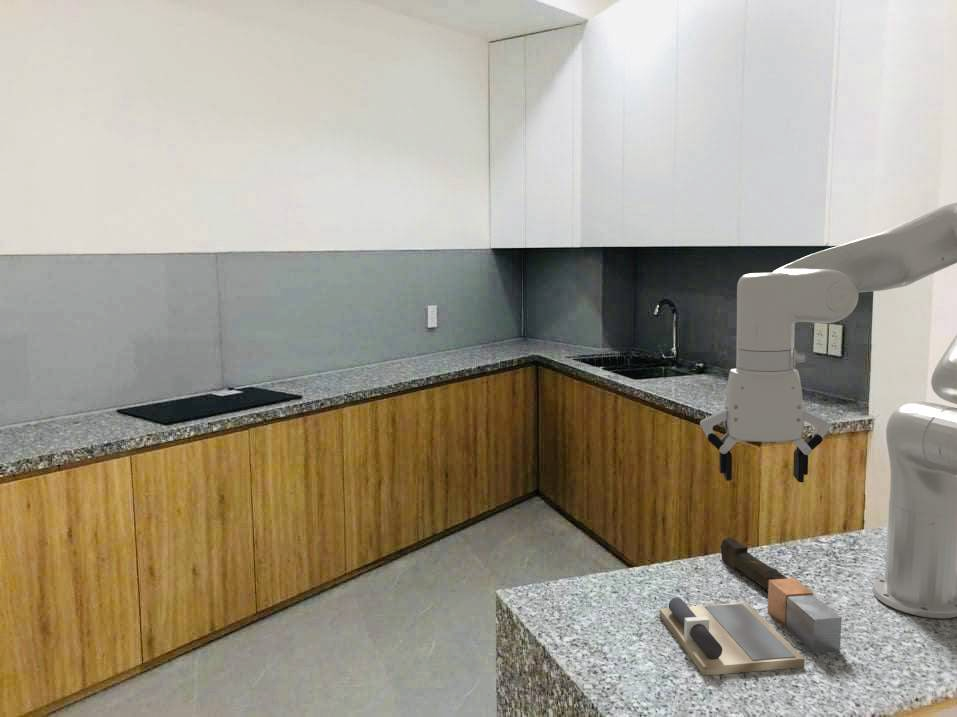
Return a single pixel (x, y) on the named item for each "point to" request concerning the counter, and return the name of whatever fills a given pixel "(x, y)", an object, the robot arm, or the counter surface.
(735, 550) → the hand tool
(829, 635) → the grey and copper block
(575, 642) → the counter surface
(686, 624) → the rod
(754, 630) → the board
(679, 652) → the counter surface
